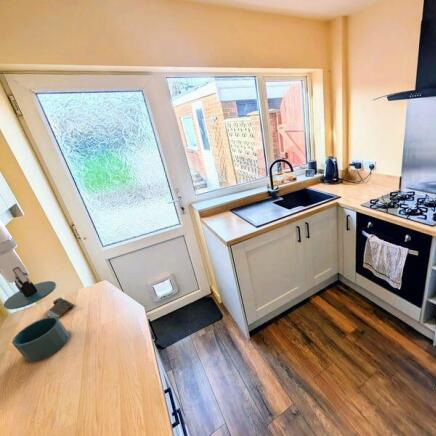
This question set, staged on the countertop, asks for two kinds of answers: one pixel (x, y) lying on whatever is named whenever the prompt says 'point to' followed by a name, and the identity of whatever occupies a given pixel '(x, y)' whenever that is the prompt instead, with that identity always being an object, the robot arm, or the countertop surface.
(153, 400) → the countertop surface
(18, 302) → the lid
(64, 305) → the chocolate cake
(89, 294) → the countertop surface
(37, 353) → the tin
